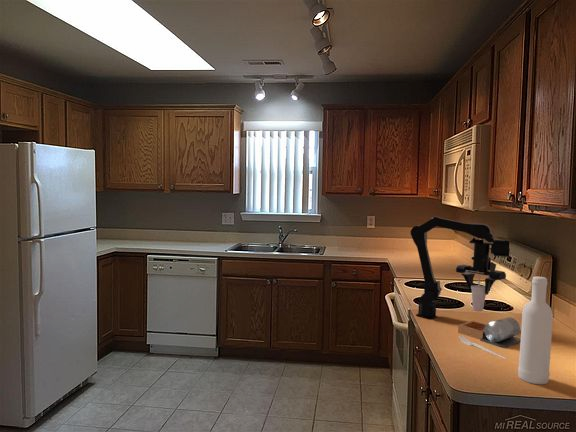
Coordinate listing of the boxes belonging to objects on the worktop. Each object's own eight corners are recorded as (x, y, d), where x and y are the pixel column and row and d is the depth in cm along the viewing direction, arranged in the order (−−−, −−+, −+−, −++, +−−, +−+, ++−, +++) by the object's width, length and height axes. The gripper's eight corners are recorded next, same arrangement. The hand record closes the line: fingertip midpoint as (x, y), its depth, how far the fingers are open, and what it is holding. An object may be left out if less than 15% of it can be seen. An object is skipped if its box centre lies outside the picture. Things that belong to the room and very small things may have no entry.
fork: (503, 362, 147) (503, 356, 147) (456, 340, 165) (457, 335, 165) (510, 361, 149) (510, 355, 148) (463, 339, 167) (463, 334, 166)
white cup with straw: (483, 308, 189) (485, 275, 188) (488, 312, 182) (490, 278, 181) (467, 307, 189) (469, 274, 188) (472, 311, 183) (474, 277, 182)
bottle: (544, 375, 135) (551, 276, 134) (552, 386, 128) (559, 281, 126) (515, 371, 138) (521, 273, 136) (521, 382, 130) (528, 278, 128)
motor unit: (455, 333, 173) (456, 313, 173) (474, 327, 181) (475, 308, 181) (504, 348, 158) (506, 326, 158) (522, 341, 166) (524, 320, 166)
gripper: (514, 256, 182) (511, 295, 183) (470, 250, 196) (468, 286, 197) (499, 258, 175) (497, 298, 176) (456, 252, 190) (454, 289, 191)
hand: (478, 292), depth 185 cm, fingers closed on white cup with straw, 6 cm apart
